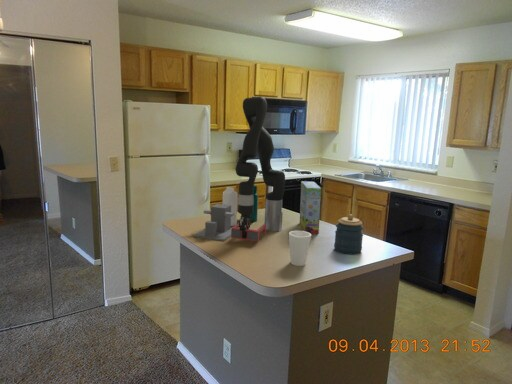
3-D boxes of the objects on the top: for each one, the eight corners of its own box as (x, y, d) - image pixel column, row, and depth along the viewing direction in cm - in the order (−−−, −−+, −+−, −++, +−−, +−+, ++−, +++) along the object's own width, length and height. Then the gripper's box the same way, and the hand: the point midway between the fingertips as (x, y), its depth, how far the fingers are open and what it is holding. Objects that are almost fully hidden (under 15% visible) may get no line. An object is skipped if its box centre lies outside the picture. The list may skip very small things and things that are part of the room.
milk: (228, 227, 214) (229, 188, 209) (221, 224, 218) (222, 186, 213) (236, 225, 218) (237, 187, 214) (229, 223, 222) (230, 185, 218)
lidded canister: (328, 248, 183) (330, 213, 180) (345, 244, 191) (348, 210, 188) (349, 256, 173) (353, 219, 170) (367, 251, 181) (370, 215, 178)
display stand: (224, 241, 188) (224, 213, 186) (193, 236, 194) (193, 209, 191) (238, 231, 206) (239, 206, 203) (210, 227, 211) (210, 202, 209)
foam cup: (294, 268, 157) (296, 238, 154) (283, 260, 165) (284, 231, 162) (313, 265, 161) (315, 235, 159) (301, 258, 169) (303, 229, 167)
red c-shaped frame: (257, 241, 184) (257, 231, 183) (230, 237, 188) (231, 228, 187) (266, 233, 197) (266, 224, 196) (241, 230, 202) (241, 221, 201)
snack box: (297, 223, 228) (300, 180, 223) (312, 223, 228) (315, 181, 223) (303, 233, 206) (306, 187, 202) (319, 234, 207) (322, 187, 202)
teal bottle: (241, 218, 233) (242, 183, 229) (254, 218, 235) (256, 183, 231) (244, 222, 224) (245, 186, 220) (258, 222, 226) (260, 186, 222)
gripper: (248, 207, 176) (247, 242, 180) (257, 201, 189) (256, 234, 192) (233, 205, 179) (232, 240, 182) (243, 199, 191) (242, 232, 195)
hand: (244, 237), depth 187 cm, fingers closed on red c-shaped frame, 1 cm apart
